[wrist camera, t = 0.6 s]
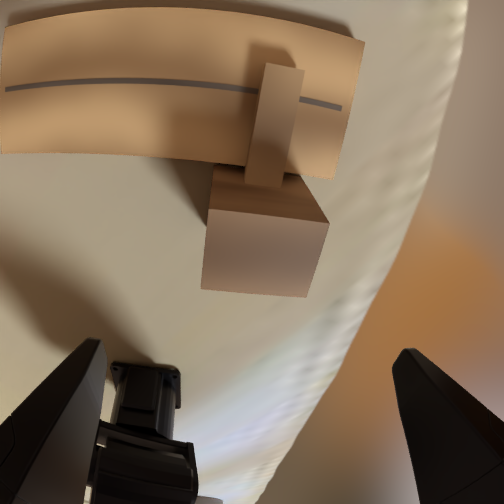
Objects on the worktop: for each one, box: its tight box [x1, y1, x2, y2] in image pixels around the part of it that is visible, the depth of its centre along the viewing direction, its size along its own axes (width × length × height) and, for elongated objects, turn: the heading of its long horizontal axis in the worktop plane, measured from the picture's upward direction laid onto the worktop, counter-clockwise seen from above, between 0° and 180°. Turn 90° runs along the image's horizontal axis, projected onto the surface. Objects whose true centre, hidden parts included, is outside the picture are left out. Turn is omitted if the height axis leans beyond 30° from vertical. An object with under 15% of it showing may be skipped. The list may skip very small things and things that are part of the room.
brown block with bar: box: [201, 63, 330, 298], centre depth 15 cm, size 10×5×6 cm, turn 170°
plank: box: [0, 7, 365, 180], centre depth 14 cm, size 8×20×1 cm, turn 81°
